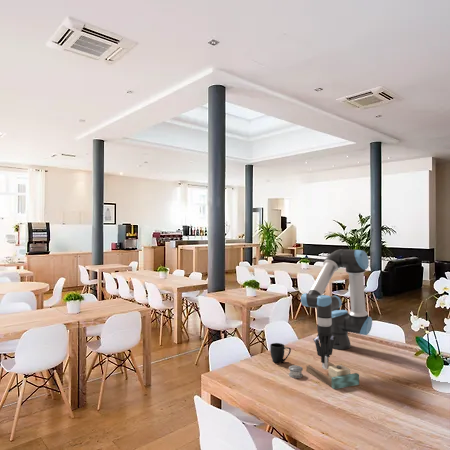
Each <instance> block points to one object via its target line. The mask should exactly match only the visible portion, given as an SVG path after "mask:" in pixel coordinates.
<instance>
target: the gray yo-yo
mask: <svg viewBox="0 0 450 450" xmlns="http://www.w3.org/2000/svg"><path fill="white" fill-rule="evenodd" d="M288 370H289V373H288V377H290V378H292V379H301V378H303V373H302V371H303V370H304V369H303V367H302V366H301V365H289V366H288Z"/></svg>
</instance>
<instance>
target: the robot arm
mask: <svg viewBox="0 0 450 450" xmlns="http://www.w3.org/2000/svg"><path fill="white" fill-rule="evenodd" d="M369 263H370V262H369V256H368V253H367V252H366V251H365V250H363V249H362V250H361V249H344V248H343V249H340V248H339V249H336V250H334V251H333V252H331V253H330V254H329V255H328V256H326V258H325V259H324V261H323V264H322V265H323V266H322V268H321V270H320V272H318V273H319V274H318V275H317V277H316V278H315V280H314V282H313V283H312V286H311V287H310V289H309V290H308V292H305V293H303V294H302V295H301V296H300V303H301V305H302V306H303V307H307V308H313V309H316V311H317V312H316V313H317V315H316V317H317V318H316V319H317V321H316V323H317V327H316V329H317V330H316V331H317V335H316V338H313V341H314V344H315V349H316V352H317V356H319V357H320V362H321V363H322V364H321V368H322V369H323V370H326V371H328V362H330V361H329V359H330V357H331V355H333V350H335V349H336V350H348V349H350V348H351V341H350V337H349V334H348V333H352V334H357V335H360V336H362V335H363V336H368V335H369V334H370V332H371V330H372V327H373V319H372V317H371V316H369V312H368V311H367V310H366V300H365V282H364V274H365V273H366V270H368V269H369ZM340 268H342V269H343V268H344V269H345V272H346V273H347V274H348V283H349V284H348V285H349V297H350V298H349V299H350V310H349V312H348V310H345V309H340V308H342V307H341V306H342V305H343V302H342V299H341V298H340V297H339V296H337V295H331V296H330V295H327V294H324V292H325V290H326V289H327V287H328V285H329V283H330V281H331V280H332V277H333V275H334V273H335V272H337V271H338V270H339V269H340Z"/></svg>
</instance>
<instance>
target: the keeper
mask: <svg viewBox="0 0 450 450" xmlns="http://www.w3.org/2000/svg"><path fill="white" fill-rule="evenodd" d="M334 365H335V366H329V367H328V369H327V371H328V372H327V373H328V375H327V376H328V377H330V378H331V377H336V376H342V375H348V374H351V368H348V367H346V366H345V365H343V364H337V365H336V364H334Z"/></svg>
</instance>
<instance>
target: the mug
mask: <svg viewBox="0 0 450 450" xmlns="http://www.w3.org/2000/svg"><path fill="white" fill-rule="evenodd" d="M269 349H270V350H269V351H270V356H271V360H272V362H273V363H274V364H281V363H283V362H285V361H286V360H287V359H288V357H289V356H290V354H291V352H292V348H290V347H288V346H287V347H286V346H285V344H284V343H279V342H273V343H270V348H269ZM286 349H288V350H289V351H288V354H287V355H286V356H285V350H286ZM284 356H285V357H284Z"/></svg>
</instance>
